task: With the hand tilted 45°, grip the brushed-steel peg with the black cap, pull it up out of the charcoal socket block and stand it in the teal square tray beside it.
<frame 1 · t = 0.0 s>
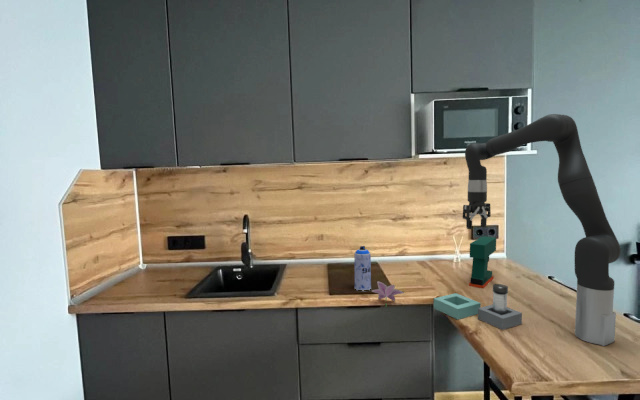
hand: (476, 228, 149), 29 cm above the worktop, tool pointing down, fingers open, 8 cm apart
aerosol can: (362, 288, 162), on the worktop
socket block: (499, 321, 125), on the worktop
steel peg: (499, 303, 124), in the socket block
lily: (387, 303, 143), on the worktop
power tool: (484, 278, 173), on the worktop
teal square tray: (456, 310, 134), on the worktop
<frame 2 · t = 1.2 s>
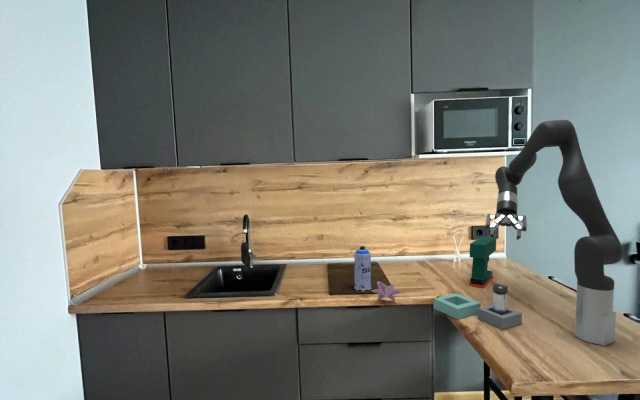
hand: (505, 237, 134), 28 cm above the worktop, tool tilted 45°, fingers open, 8 cm apart
nothing on the worktop moved.
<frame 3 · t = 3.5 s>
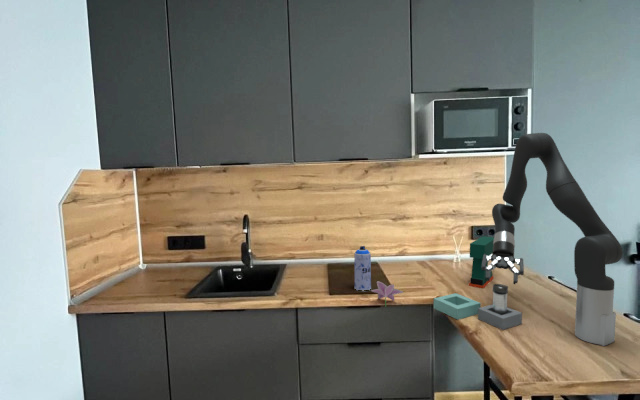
hand: (501, 281, 129), 13 cm above the worktop, tool tilted 45°, fingers open, 8 cm apart
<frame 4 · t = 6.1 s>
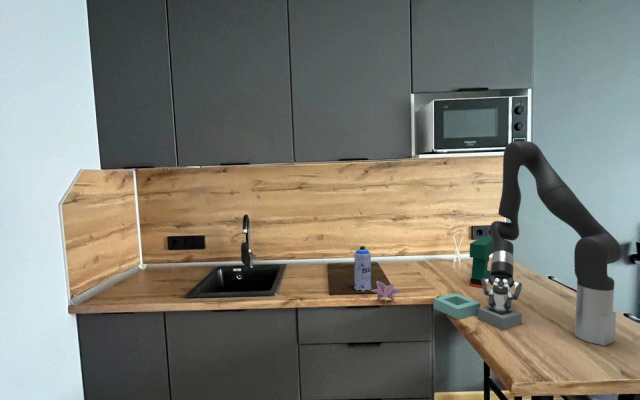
hand: (499, 307, 122), 6 cm above the worktop, tool tilted 45°, fingers closed on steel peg, 4 cm apart
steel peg: (499, 303, 124), in the socket block, touching gripper
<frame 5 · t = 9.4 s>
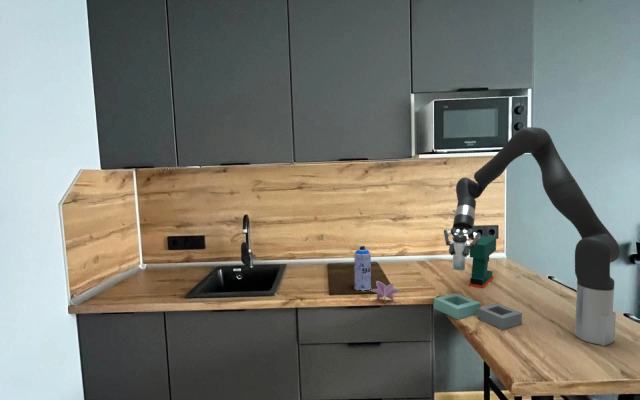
hand: (458, 254, 131), 23 cm above the worktop, tool tilted 45°, fingers closed on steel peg, 4 cm apart
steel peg: (459, 252, 132), point 23 cm above the worktop, touching gripper
when the fingers open (7 cm above the worktop, at t = 12.8 s): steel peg drops 1 cm, resting in teal square tray.
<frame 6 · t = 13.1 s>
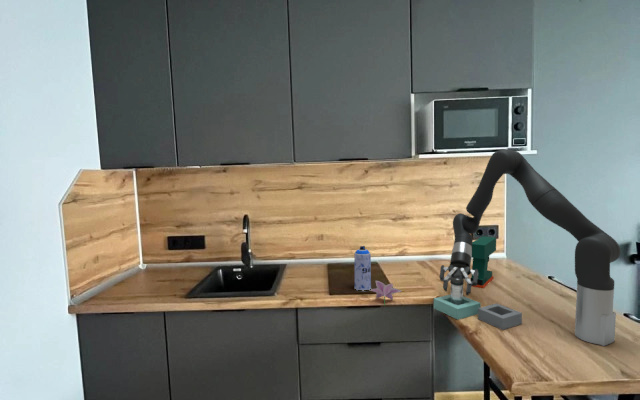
hand: (456, 292, 133), 8 cm above the worktop, tool tilted 45°, fingers open, 7 cm apart
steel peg: (456, 294, 134), in the teal square tray
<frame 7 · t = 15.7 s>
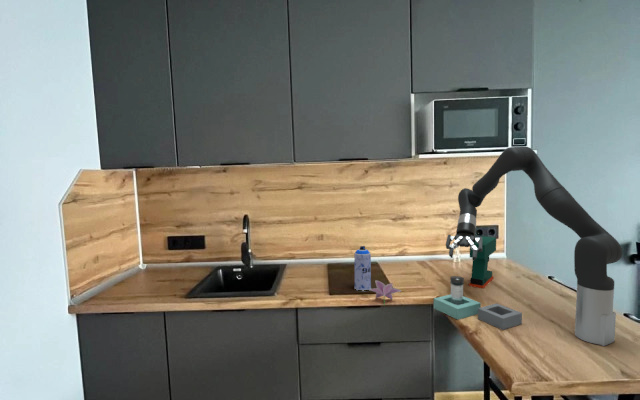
hand: (462, 258, 143), 18 cm above the worktop, tool tilted 45°, fingers open, 8 cm apart
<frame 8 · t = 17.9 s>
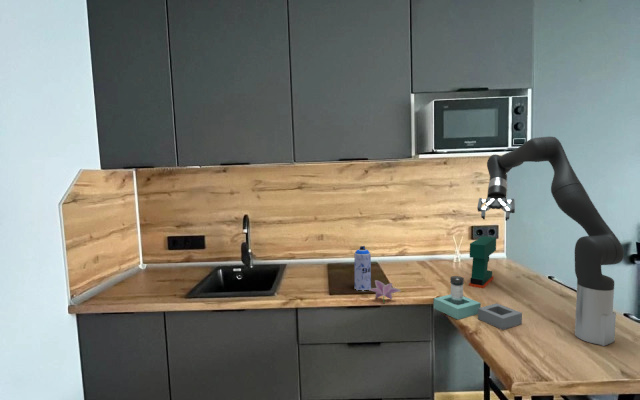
hand: (494, 218, 145), 34 cm above the worktop, tool tilted 45°, fingers open, 8 cm apart
at the end: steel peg 0.1 cm off-centre on the teal square tray, point 6.5 cm above the teal square tray's base; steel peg tilted 0°; the gripper is holding nothing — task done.
